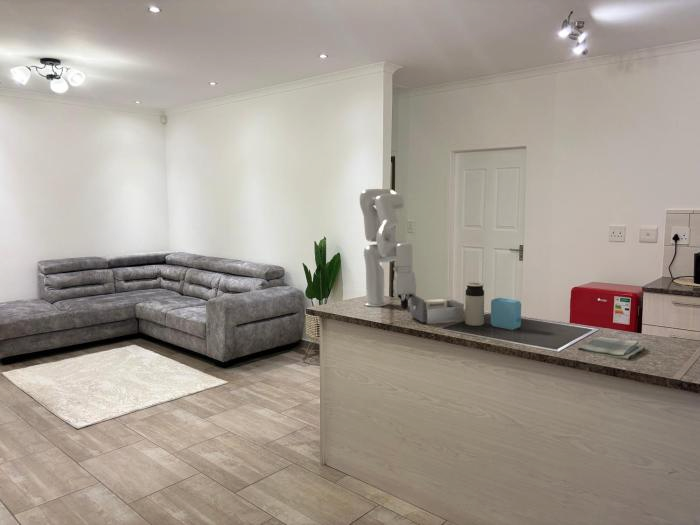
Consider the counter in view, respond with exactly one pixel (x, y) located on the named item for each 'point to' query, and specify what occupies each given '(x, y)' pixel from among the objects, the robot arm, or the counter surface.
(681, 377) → the counter surface
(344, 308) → the counter surface
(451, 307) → the grey storage bin
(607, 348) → the dish towel
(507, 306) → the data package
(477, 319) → the travel mug
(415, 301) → the grey drawer
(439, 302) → the cartridge
